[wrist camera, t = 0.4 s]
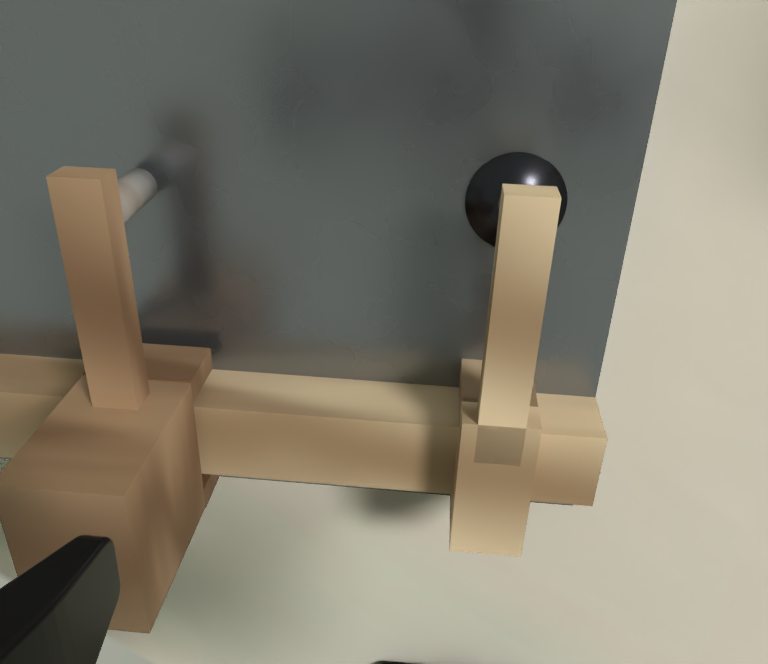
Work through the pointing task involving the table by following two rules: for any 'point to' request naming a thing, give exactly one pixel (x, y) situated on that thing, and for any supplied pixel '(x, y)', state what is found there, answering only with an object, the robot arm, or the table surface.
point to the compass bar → (397, 411)
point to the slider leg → (112, 414)
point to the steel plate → (329, 172)
